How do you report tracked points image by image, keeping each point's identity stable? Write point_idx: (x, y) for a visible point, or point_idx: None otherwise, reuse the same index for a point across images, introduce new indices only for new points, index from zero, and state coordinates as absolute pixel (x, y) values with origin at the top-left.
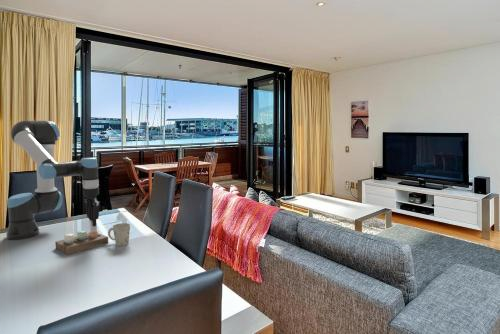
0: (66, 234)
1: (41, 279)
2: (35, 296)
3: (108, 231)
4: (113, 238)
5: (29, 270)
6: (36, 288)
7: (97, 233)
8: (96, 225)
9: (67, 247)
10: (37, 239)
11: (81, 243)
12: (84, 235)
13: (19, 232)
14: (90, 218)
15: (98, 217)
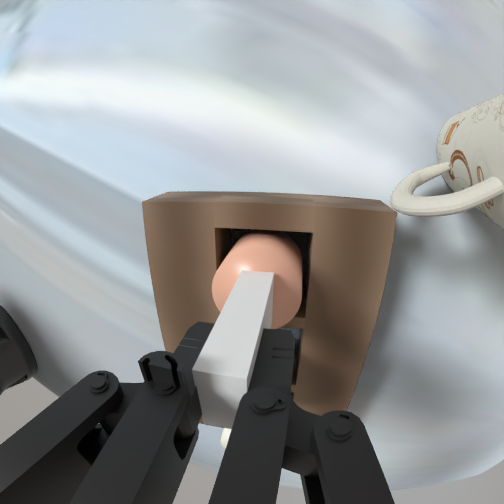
0: (223, 445)
1: (422, 463)
2: (463, 464)
3: (415, 215)
4: (422, 176)
5: None
6: (444, 466)
7: (297, 272)
8: (264, 312)
9: None
10: (50, 350)
11: (343, 391)
12: None
13: (22, 376)
14: (196, 435)
15: (367, 438)
